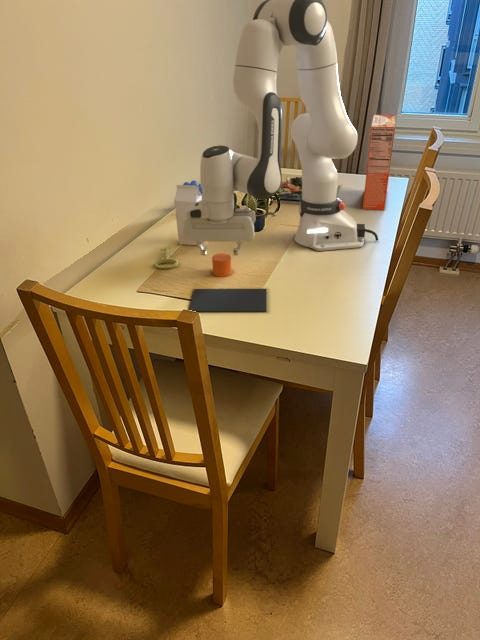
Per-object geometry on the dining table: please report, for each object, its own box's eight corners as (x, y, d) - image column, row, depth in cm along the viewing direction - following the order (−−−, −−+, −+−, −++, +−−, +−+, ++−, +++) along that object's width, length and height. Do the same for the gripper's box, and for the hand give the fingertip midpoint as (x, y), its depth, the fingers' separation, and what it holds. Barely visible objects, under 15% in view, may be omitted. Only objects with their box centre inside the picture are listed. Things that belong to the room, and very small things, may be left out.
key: (168, 251, 162) (168, 245, 161) (180, 266, 152) (179, 260, 151) (147, 256, 160) (146, 249, 158) (157, 271, 150) (156, 265, 149)
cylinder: (232, 268, 150) (231, 253, 148) (230, 276, 146) (230, 260, 143) (213, 268, 151) (212, 253, 148) (212, 276, 146) (211, 261, 143)
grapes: (210, 208, 197) (209, 177, 190) (204, 214, 191) (202, 183, 185) (183, 206, 200) (180, 176, 194) (176, 211, 194) (173, 181, 188)
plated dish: (244, 200, 204) (244, 182, 200) (262, 181, 227) (262, 165, 223) (330, 207, 195) (332, 188, 191) (339, 187, 218) (341, 170, 214)
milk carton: (199, 245, 166) (194, 189, 156) (178, 244, 167) (173, 188, 157) (204, 237, 171) (201, 182, 161) (184, 236, 173) (179, 181, 163)
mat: (266, 289, 138) (266, 288, 138) (266, 312, 128) (266, 310, 128) (194, 290, 139) (194, 288, 139) (188, 312, 129) (188, 310, 129)
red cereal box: (365, 190, 210) (373, 114, 194) (385, 191, 208) (395, 115, 193) (362, 208, 191) (371, 126, 176) (384, 210, 190) (395, 127, 174)
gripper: (255, 204, 140) (255, 250, 147) (183, 204, 141) (186, 250, 148) (255, 212, 135) (255, 259, 142) (180, 212, 136) (183, 258, 143)
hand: (219, 254), depth 145 cm, fingers open, 8 cm apart
